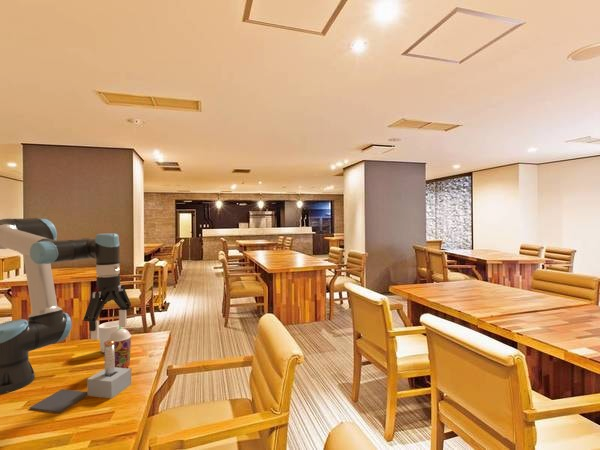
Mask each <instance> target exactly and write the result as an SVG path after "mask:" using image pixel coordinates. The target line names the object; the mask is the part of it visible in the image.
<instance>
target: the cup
mask: <svg viewBox="0 0 600 450" xmlns="http://www.w3.org/2000/svg"><path fill="white" fill-rule="evenodd" d="M117 329H119V321H115V320H114V321H108V322H103V323H101V324H100V323H99V339H98V340H99V346H100V352H101V353H102V354H103V355H105V352H104V342H106V341H109V338H110V336H111V334H112V333H113V332H114V331H115V330H117Z"/></svg>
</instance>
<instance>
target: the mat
mask: <svg viewBox="0 0 600 450" xmlns="http://www.w3.org/2000/svg"><path fill="white" fill-rule="evenodd" d="M87 396H88V394H87V391H81V390H71V389H65V388H62V389H59V390H58V391H56V392H54V393H53V394H51V395H49V396H47V397H45V398H44V399H42V400H40V401H38V402H36V403H35V404H33V405H31V406H29V410H33V411H41V412H46V413H47V412H48V413H55V414H61V413H62V412H64V411H66V410H67V409H68V408H71V406H73V405H75V404H77V403H78V402H80V401H81V400H83V399H84V398H86V397H87Z"/></svg>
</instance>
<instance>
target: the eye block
mask: <svg viewBox="0 0 600 450" xmlns="http://www.w3.org/2000/svg"><path fill="white" fill-rule="evenodd" d="M86 381H87V382H86V383H87V384H86V385H87V386H86V387H87V388H86V389H87V391H86V392H87V394H88V396H89V397H95V398H97V397H98V398H106V399H113V398H115V397H116V396H117V395H119V394H120V393H121V392H123V391H124V390H125V389H127V388H129V386H132V368H128V369H127V368H117V367H115V374H114V375H113V376H111V377H107V376H105V368H104V369H102V370H100V371H98V372H97V373H95V374H94V375H92V376H90V377H88V378H87V379H86Z"/></svg>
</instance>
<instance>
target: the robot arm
mask: <svg viewBox="0 0 600 450" xmlns="http://www.w3.org/2000/svg"><path fill="white" fill-rule="evenodd" d="M57 237H58V233H57V228H56V226H55V225H54V223H53V222H52V221H50V220H49V219H46V218H38V217H35V218H31V217H30V218H28V217H27V218H2V219H0V250H7V249H9V250H11V251H14V252H15V251H16V252H17V253H19V254H21V255H22V257H23V263H24V269H25V276H26V282H27V287H28V295H29V302H30V306H31V312H30V314H28V316H27V318H28V320H27V319H25V318H24V319H23V318H20V319H19V318H18V319H14V320H9V321H5V322H2V323H0V395H1V394H5V393H9V392H14V391H16V390H19V389H21V388H24V387H26V386H28V385H30V384H31V383H32V382H34V380H35V379H36V378H35V376H36V375H35V373H36V372H35V371H34V369H33V367H32V364H31V362H30V361H29V352H31V351H35V350H37V349H41V348H44V347H47V346H50V345H55V344H57V343H59V342H62V341H64V340H66V339H67V338H68V337H69V335H70V333H71V331H72V319H71V316H70V315H69V314H68V313H67V312H64V310H63V308H61V307H59V305H58V301H57V296H56V287H55V283H54V282H55V281H54V277H53V272H52V266H51V265H52V264H56V263H61V262H70V261H79V260H89V259H93V260H94V259H95V275H96V287H97V289H98V290H97V291H92V292H90V299H89V301H88V306H87V308H86V311H85V314H84V317H83V321H84V322H88V324H89V326H88V329H89V332H90V341H91V340H93V341H98V340H99V325H100V323H99V320H98V319H99V317H100V315H101V312H102V310H103V309H104V307H105V305H107V304H108V302H111V301H114V302H115V304H116V305H117V307H118V308H119V310H118V322H119V327H121V328H126V327H128V325H127V323H128V322H127V321H128V319H127V318H128V310H130V307H131V306H132V302H131V301H130V298H129V296H128V294H127V291H126V286H125V285H124V284H121V276H120V273H121V270H120V269H121V267H120V261H121V260H120V258H121V256H120V253H121V252H120V250H121V249H120V245H121V244H120V238H119V234H117V233H113V232H112V233H111V232H110V233H97V234H95V238H90V237H88V238H87V237H86V238H85V237H84V238H79V239H65V240H63V239H62V240H60V239H59V240H57Z"/></svg>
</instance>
